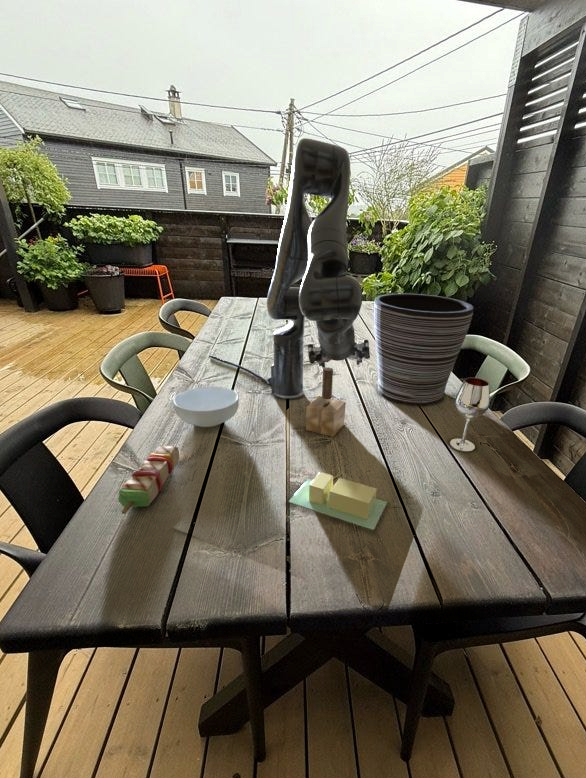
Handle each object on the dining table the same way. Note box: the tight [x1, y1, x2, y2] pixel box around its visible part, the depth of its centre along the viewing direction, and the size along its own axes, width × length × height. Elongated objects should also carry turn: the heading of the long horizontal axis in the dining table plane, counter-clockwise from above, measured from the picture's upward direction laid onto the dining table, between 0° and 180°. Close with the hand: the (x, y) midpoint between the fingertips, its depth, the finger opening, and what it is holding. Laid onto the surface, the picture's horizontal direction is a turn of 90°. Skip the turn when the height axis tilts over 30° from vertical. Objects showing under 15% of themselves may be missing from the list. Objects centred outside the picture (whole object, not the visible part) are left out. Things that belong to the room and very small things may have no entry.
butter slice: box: [309, 471, 334, 505], centre depth 81 cm, size 3×5×4 cm, turn 157°
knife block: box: [305, 395, 347, 438], centre depth 108 cm, size 8×8×7 cm
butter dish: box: [288, 477, 388, 531], centre depth 79 cm, size 18×9×5 cm, turn 67°
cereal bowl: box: [172, 386, 240, 428], centre depth 108 cm, size 17×17×7 cm
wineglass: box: [449, 377, 491, 453], centre depth 101 cm, size 8×8×18 cm
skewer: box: [118, 444, 180, 515], centre depth 81 cm, size 21×6×5 cm, turn 178°
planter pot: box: [373, 293, 475, 407], centre depth 129 cm, size 30×30×30 cm
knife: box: [321, 367, 334, 407], centre depth 106 cm, size 3×3×17 cm
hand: (340, 362), depth 99 cm, fingers open, 8 cm apart
